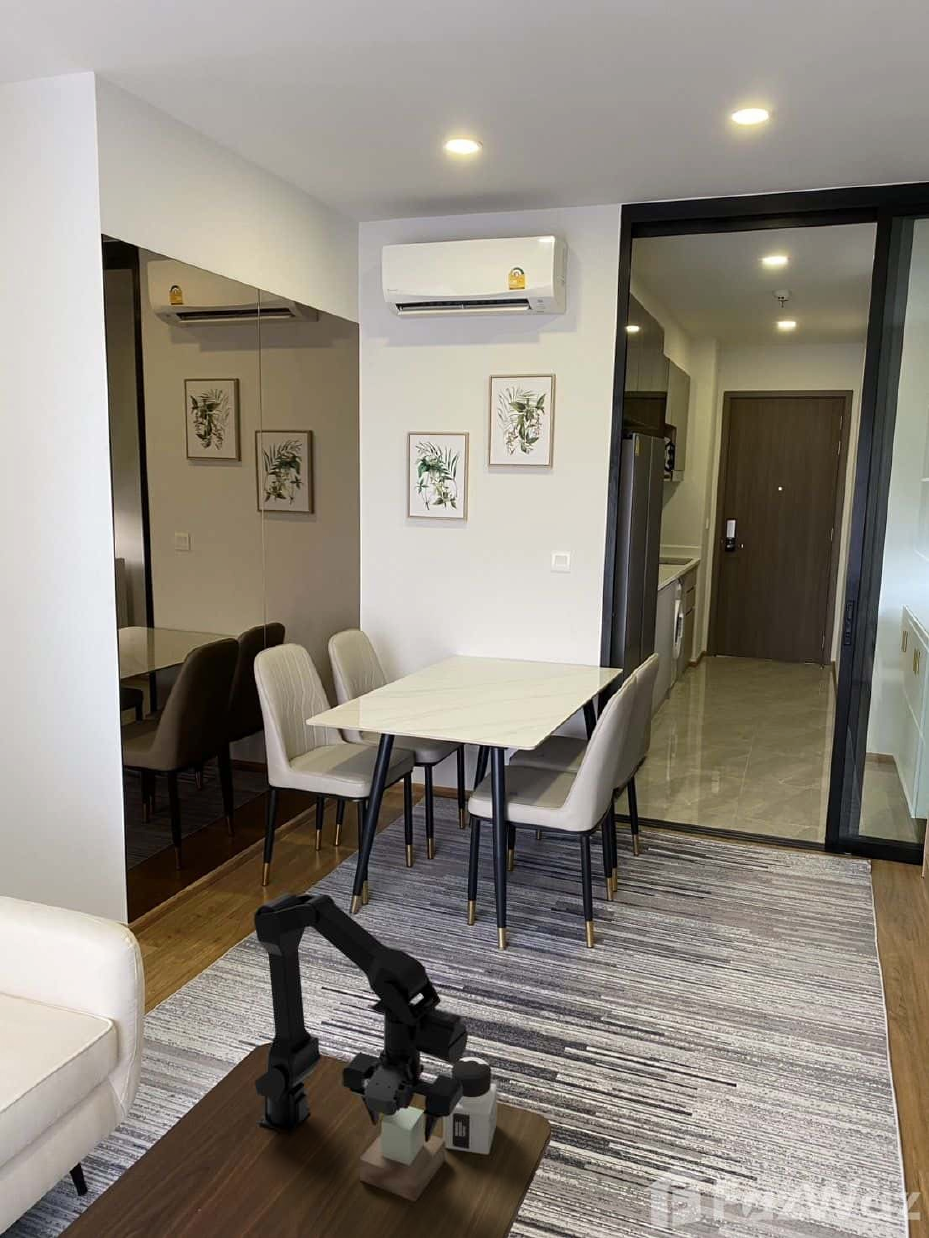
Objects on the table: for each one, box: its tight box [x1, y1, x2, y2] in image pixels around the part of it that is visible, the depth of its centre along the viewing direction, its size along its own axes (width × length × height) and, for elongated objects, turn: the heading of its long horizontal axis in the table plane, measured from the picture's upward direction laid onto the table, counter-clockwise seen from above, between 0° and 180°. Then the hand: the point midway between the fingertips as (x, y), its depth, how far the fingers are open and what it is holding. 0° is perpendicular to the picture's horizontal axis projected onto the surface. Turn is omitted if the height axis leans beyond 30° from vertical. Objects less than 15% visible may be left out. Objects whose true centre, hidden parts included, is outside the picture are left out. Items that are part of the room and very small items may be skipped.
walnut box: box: [359, 1131, 446, 1202], centre depth 148 cm, size 10×10×4 cm
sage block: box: [381, 1105, 425, 1165], centre depth 147 cm, size 5×5×6 cm
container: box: [442, 1056, 498, 1155], centre depth 155 cm, size 8×8×13 cm
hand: (401, 1132), depth 147 cm, fingers open, 9 cm apart
